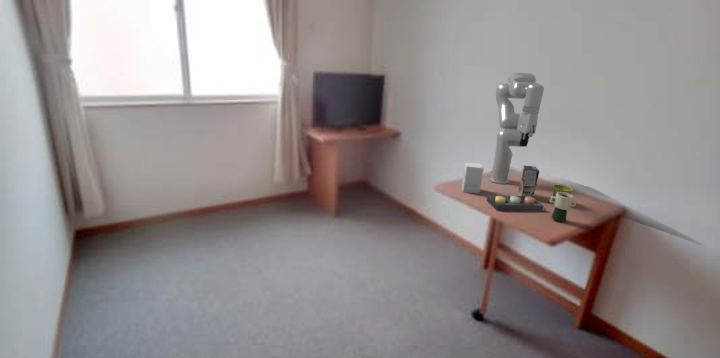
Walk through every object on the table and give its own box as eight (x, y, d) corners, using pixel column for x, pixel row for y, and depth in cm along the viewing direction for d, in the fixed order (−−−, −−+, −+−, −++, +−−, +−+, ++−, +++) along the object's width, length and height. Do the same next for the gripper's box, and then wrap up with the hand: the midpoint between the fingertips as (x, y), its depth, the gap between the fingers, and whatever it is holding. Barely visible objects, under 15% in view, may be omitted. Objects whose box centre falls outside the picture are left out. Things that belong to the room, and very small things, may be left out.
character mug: (569, 219, 179) (576, 194, 175) (572, 225, 173) (579, 199, 168) (544, 214, 182) (551, 190, 178) (546, 220, 176) (553, 195, 172)
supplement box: (477, 188, 212) (482, 163, 207) (479, 194, 204) (484, 168, 199) (461, 186, 213) (465, 161, 208) (462, 192, 205) (466, 166, 200)
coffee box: (533, 199, 201) (540, 171, 195) (520, 198, 202) (527, 169, 196) (529, 193, 209) (535, 166, 204) (517, 192, 210) (523, 164, 205)
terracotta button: (521, 203, 194) (523, 196, 192) (530, 203, 194) (532, 196, 193) (526, 207, 189) (528, 200, 188) (535, 207, 190) (537, 200, 188)
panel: (486, 200, 195) (487, 195, 194) (529, 201, 198) (530, 196, 197) (497, 210, 184) (498, 205, 183) (542, 211, 187) (543, 205, 186)
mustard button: (492, 202, 192) (493, 195, 190) (501, 203, 192) (503, 195, 191) (496, 206, 187) (498, 199, 186) (506, 207, 188) (507, 199, 186)
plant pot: (556, 206, 194) (560, 190, 191) (545, 199, 202) (548, 184, 200) (572, 206, 195) (576, 190, 192) (560, 199, 204) (564, 184, 201)
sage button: (507, 203, 193) (508, 196, 191) (516, 203, 193) (517, 196, 192) (511, 207, 188) (513, 199, 187) (521, 207, 189) (522, 199, 187)
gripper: (516, 107, 191) (509, 142, 197) (531, 112, 177) (523, 149, 183) (529, 107, 192) (522, 142, 198) (546, 113, 178) (537, 150, 184)
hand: (523, 145), depth 191 cm, fingers closed
